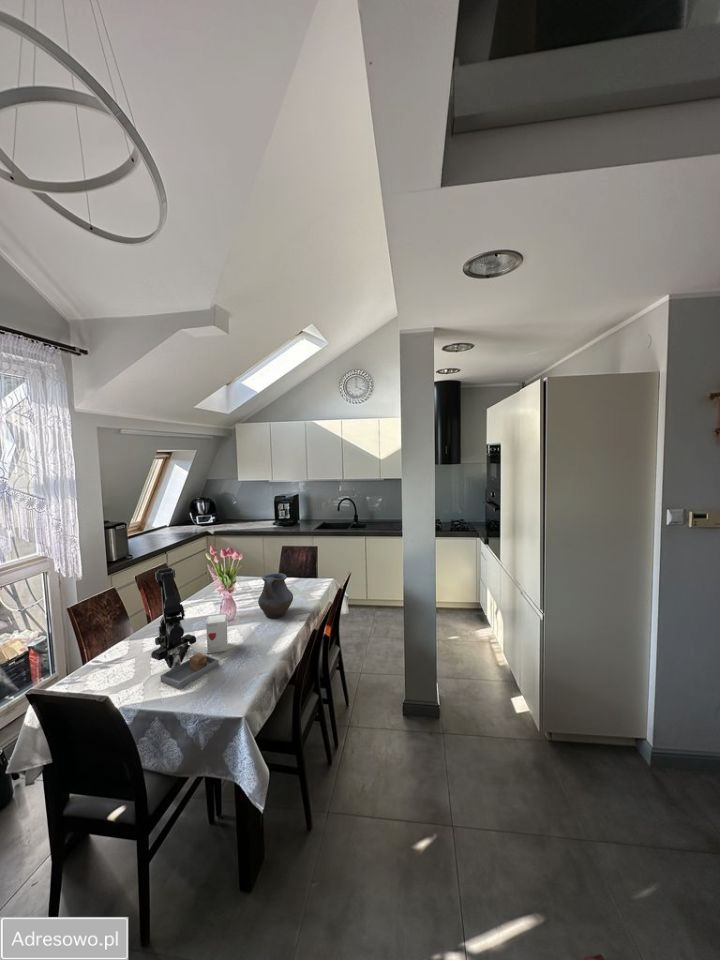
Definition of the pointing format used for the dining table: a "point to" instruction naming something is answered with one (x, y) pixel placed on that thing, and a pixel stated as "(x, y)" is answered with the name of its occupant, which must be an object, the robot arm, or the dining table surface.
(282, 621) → the dining table surface
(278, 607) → the pitcher
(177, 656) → the steel peg
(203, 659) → the walnut block
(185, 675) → the tray
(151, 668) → the dining table surface
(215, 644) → the supplement box
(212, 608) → the dining table surface
